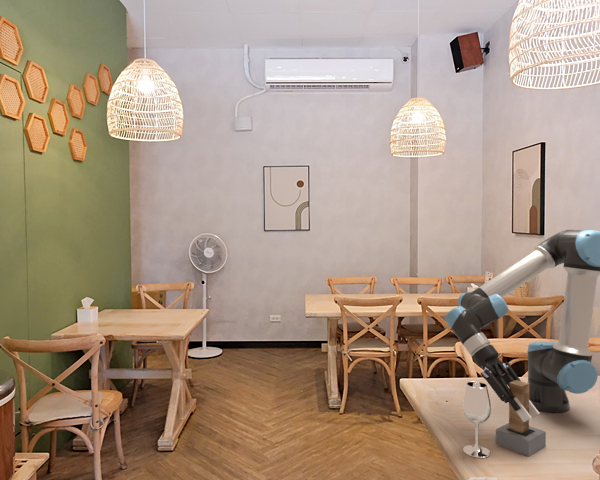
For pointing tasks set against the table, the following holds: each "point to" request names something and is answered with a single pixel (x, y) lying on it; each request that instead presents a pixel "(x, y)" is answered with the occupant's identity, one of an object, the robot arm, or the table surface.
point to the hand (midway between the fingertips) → (531, 417)
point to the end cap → (521, 439)
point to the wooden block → (522, 393)
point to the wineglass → (476, 414)
